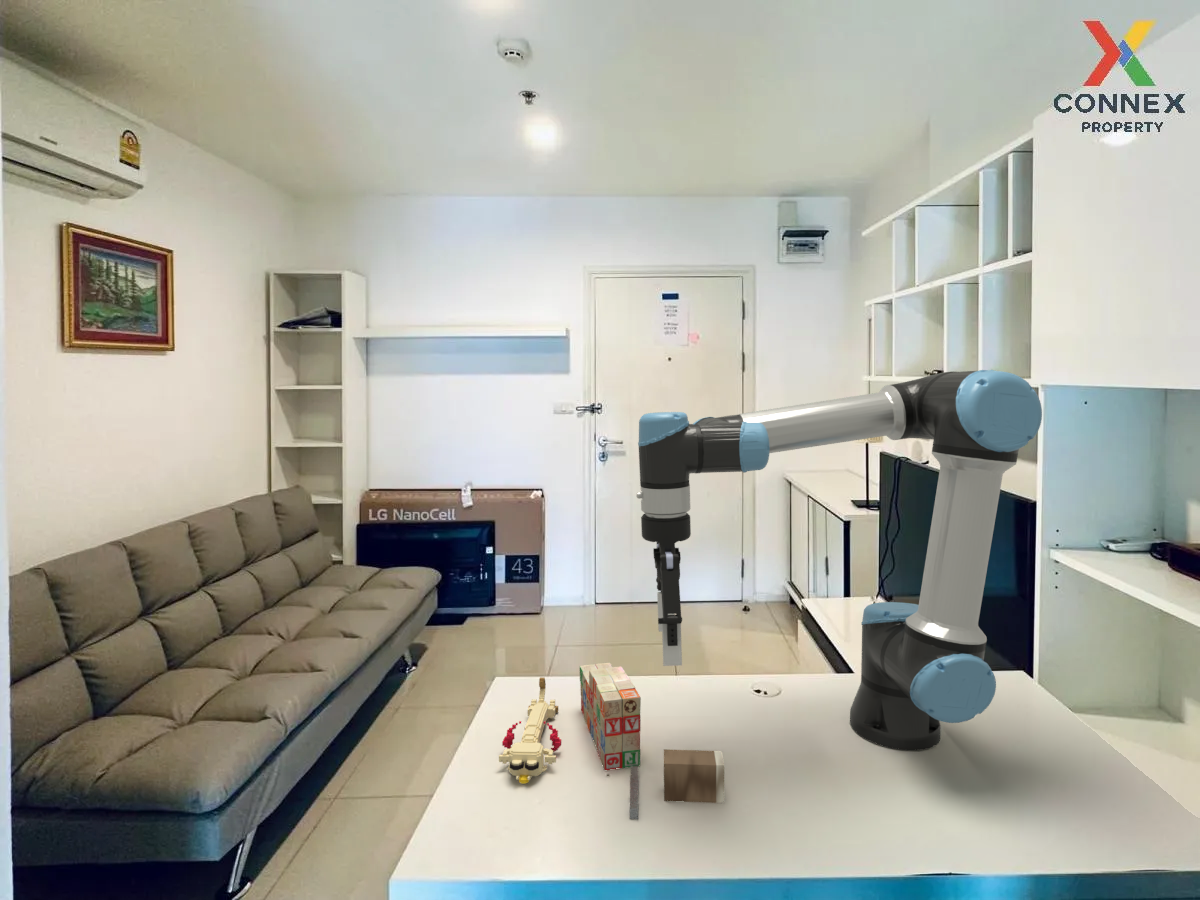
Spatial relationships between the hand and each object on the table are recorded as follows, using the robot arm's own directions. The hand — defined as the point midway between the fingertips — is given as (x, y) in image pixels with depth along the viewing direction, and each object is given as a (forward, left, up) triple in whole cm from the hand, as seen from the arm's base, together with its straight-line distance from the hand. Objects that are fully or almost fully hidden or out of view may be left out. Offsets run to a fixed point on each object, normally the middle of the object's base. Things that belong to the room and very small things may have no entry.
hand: (669, 646), depth 106 cm
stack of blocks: (+10, -13, -22) cm, 28 cm away
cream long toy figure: (+23, -9, -23) cm, 34 cm away
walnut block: (+1, +4, -19) cm, 19 cm away
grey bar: (+6, +5, -22) cm, 23 cm away
